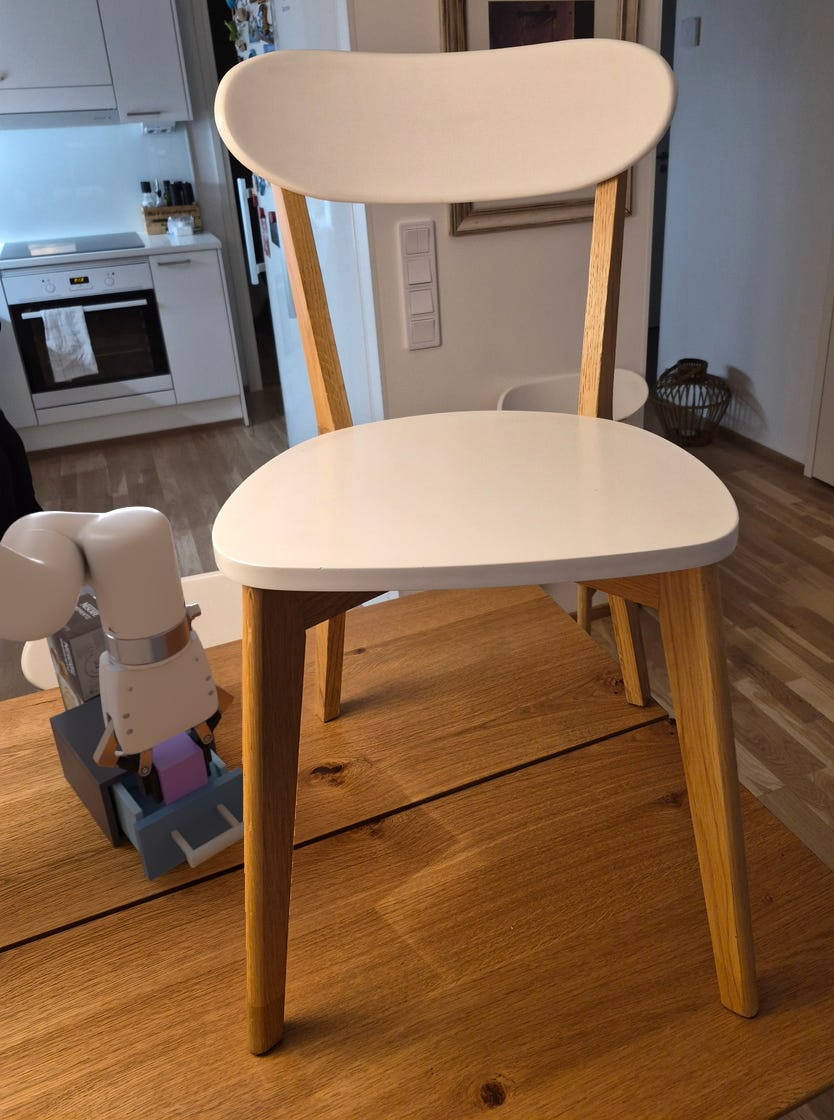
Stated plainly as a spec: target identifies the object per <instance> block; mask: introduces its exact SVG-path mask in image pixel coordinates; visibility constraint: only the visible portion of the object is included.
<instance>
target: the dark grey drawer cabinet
mask: <svg viewBox="0 0 834 1120" xmlns="http://www.w3.org/2000/svg"><path fill="white" fill-rule="evenodd" d="M49 723H50V724H49V725H50V727H51V731H52V733H53V734H52V735H53V738H54V742H55V746H56V749H57V750H56V751H57V754H58V758H59V761H60V765H61V769H62V772H63V777H64V778H65V780H66V782H67V783H68V784H69V786H70V788H72V791H73V792H74V793H75V794H76V796H77V797H78V798H79V800H80V801H81V802H82V804H83V805H84V808H86V810H87V811H88V813H89V814H90V816H91V817H92V818H93V820H94V821H95V822H96V824H97V826H98V827H99V828H100V830H101V831H102V833H103V834H104V835H105V837H106V838H107V839H108V841H109V842H110V844H111V845H112V846H113V848H116V847H118V846H120V845H121V844H123V843H126V842H127V841H129V840H130V839H129V838H128V837H127V835H126V834H125V832H124V831H123V830H122V828H121V827H120V826H119V824H118V823H117V822H116V819H115V814H114V810H113V806H112V802H111V798H110V794H109V789H108V787H109V786H110V785H112V784H114V783H116V782H118V781H120V780H122V779H124V778H126V777H128V776H130V775H132V774H134V773H136V772H132V771H128V770H123V769H121V768H120V767H115V768H112V767H100V766H98V764H97V763H96V762H95V761H94V759H93V755H94V753H95V751H96V749H97V747H98V744H99V742H100V740H101V738H102V736H103V734H104V732H105V730H106V727H105V723H104V717H103V711H102V703H101V696H99V697H97V698H95V699H92V700H90V701H88V702H86V703H83V704H81V705H79V706H76V707H74V708H72V709H70V710H67V711H63V712H61V713H58V714H56V715H53V716H52V717H49ZM184 732H185V733H186V734H188V733H190V732H191V730H190V729H188V730H186V731H184ZM212 735H213V739H212V741H211V742H210V743H209V744H210V749H211V750H212V751H213V752H214V753H215V754H216V755H217V756H218V751H217V746H216V745H217V744H216V740H215V735H214V732H213V733H212ZM118 750H122V747H121V746H120V745H119V744H118V746H117V748H116V751H118Z"/></svg>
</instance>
